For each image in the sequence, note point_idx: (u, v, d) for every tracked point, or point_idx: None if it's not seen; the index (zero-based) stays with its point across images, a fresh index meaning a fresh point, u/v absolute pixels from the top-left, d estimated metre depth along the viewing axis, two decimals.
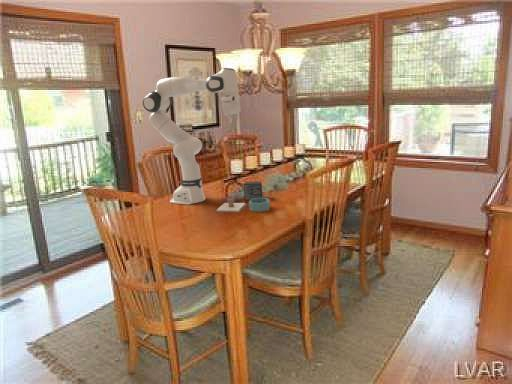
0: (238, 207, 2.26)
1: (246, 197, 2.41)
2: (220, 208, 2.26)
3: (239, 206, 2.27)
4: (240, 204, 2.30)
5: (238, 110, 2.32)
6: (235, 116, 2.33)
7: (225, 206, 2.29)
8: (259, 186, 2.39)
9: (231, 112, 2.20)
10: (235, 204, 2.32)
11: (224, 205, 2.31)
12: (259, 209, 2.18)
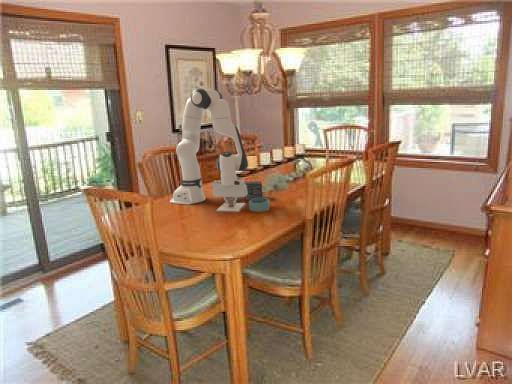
0: (238, 207, 2.26)
1: (246, 197, 2.41)
2: (220, 208, 2.26)
3: (239, 206, 2.27)
4: (240, 204, 2.30)
5: None
6: (226, 199, 2.28)
7: (225, 206, 2.29)
8: (259, 186, 2.39)
9: None
10: (235, 204, 2.32)
11: (224, 205, 2.31)
12: (259, 209, 2.18)
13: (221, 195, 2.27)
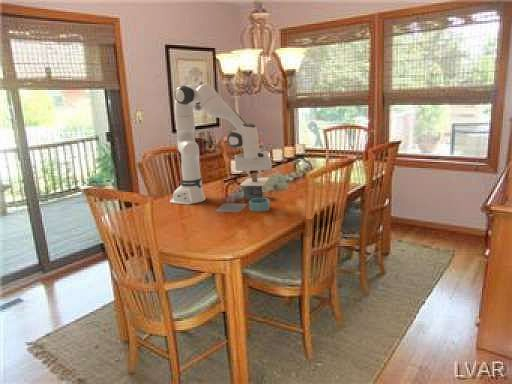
0: (262, 181, 2.17)
1: (246, 197, 2.41)
2: (243, 183, 2.18)
3: (263, 180, 2.19)
4: (263, 179, 2.21)
5: None
6: (249, 173, 2.19)
7: (248, 181, 2.21)
8: (259, 186, 2.39)
9: None
10: (258, 179, 2.23)
11: (247, 180, 2.23)
12: (259, 209, 2.18)
13: (244, 169, 2.18)
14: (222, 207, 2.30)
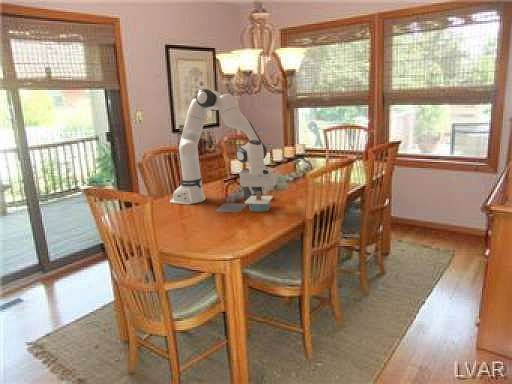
0: (266, 200, 2.20)
1: (246, 197, 2.41)
2: (248, 201, 2.20)
3: (267, 199, 2.21)
4: (267, 197, 2.24)
5: None
6: (251, 189, 2.22)
7: (252, 199, 2.23)
8: None
9: None
10: (262, 197, 2.26)
11: (251, 198, 2.25)
12: (259, 209, 2.18)
13: (248, 185, 2.20)
14: (222, 207, 2.30)
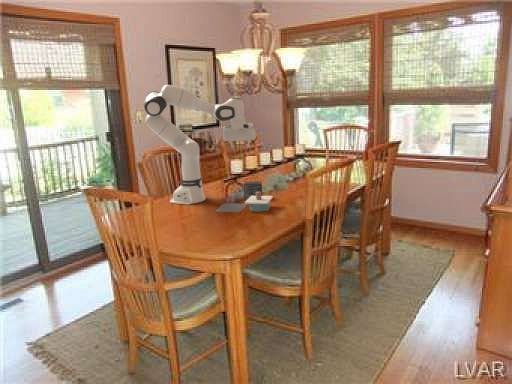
0: (266, 200, 2.20)
1: (246, 197, 2.41)
2: (248, 201, 2.20)
3: (267, 199, 2.21)
4: (267, 197, 2.24)
5: None
6: (231, 143, 2.43)
7: (252, 199, 2.23)
8: (259, 186, 2.39)
9: None
10: (262, 197, 2.26)
11: (251, 198, 2.25)
12: (259, 209, 2.18)
13: (231, 139, 2.41)
14: (222, 207, 2.30)
